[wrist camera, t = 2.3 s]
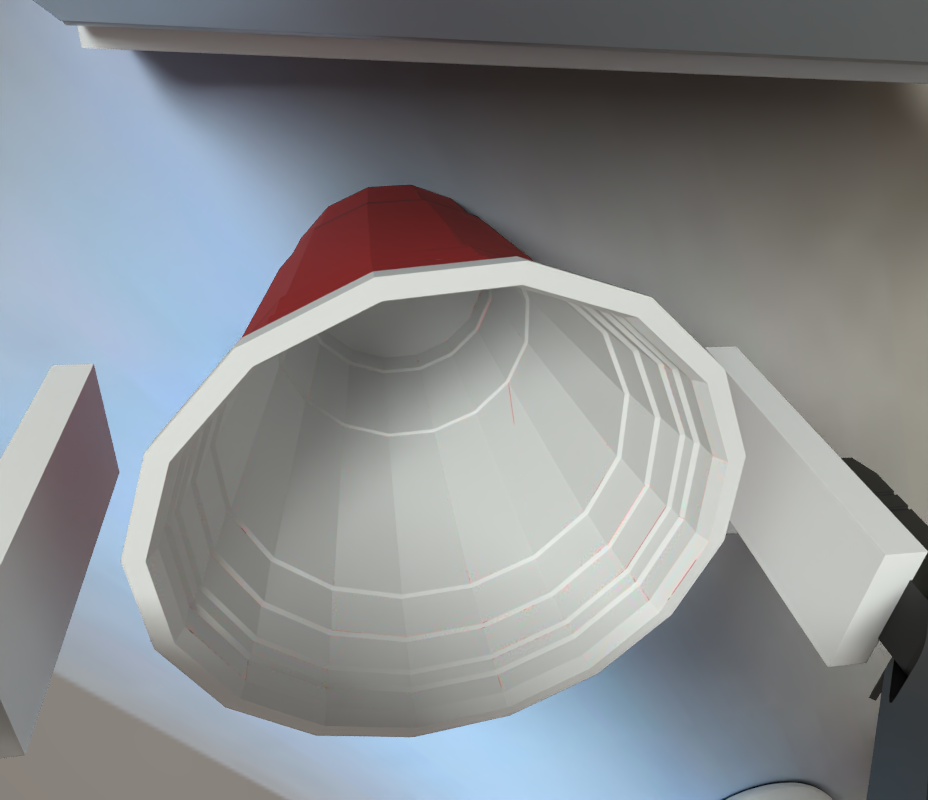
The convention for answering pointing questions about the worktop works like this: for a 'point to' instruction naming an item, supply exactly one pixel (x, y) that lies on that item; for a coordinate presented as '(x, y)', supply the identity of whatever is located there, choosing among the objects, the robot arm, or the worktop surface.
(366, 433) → the plastic cup
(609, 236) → the worktop surface
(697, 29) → the door
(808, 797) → the supplement tub
